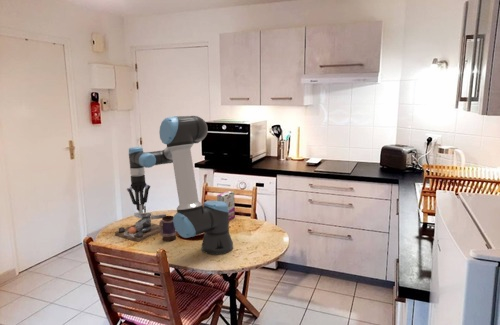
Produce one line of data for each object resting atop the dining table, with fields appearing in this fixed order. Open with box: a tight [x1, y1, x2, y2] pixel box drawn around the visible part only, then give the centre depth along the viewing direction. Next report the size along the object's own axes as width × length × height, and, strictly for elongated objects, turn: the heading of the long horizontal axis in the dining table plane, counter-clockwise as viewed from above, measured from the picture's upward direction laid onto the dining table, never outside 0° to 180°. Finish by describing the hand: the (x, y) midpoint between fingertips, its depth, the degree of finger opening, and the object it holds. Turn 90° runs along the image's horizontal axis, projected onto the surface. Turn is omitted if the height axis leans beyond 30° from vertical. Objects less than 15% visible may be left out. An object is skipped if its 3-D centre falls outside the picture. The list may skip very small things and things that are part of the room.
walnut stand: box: [114, 222, 160, 243], centre depth 192 cm, size 18×20×4 cm
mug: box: [158, 215, 177, 242], centre depth 181 cm, size 10×7×12 cm
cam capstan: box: [133, 212, 167, 233], centre depth 194 cm, size 19×16×8 cm
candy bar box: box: [216, 190, 236, 221], centre depth 210 cm, size 11×5×16 cm, turn 147°
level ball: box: [129, 227, 137, 234], centre depth 185 cm, size 4×4×4 cm
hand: (140, 215), depth 199 cm, fingers closed
